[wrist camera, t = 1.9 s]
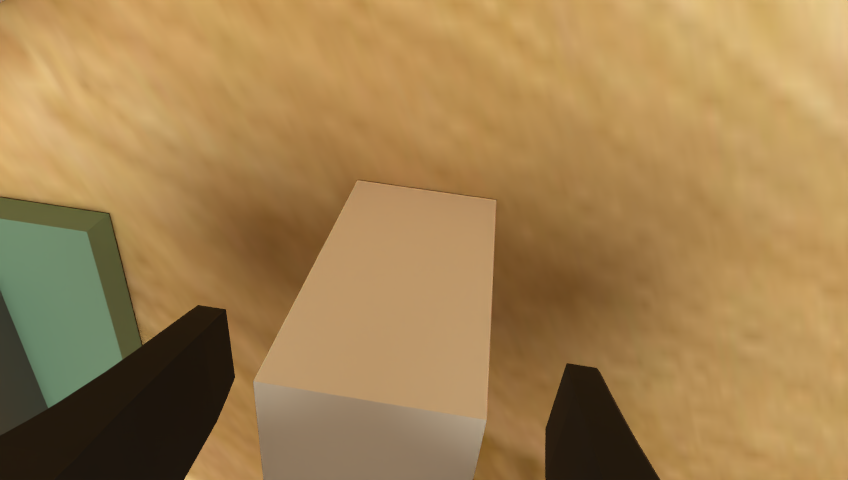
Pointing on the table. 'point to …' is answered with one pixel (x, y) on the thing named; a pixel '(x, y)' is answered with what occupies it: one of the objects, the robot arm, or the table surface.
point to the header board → (57, 305)
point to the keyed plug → (385, 344)
